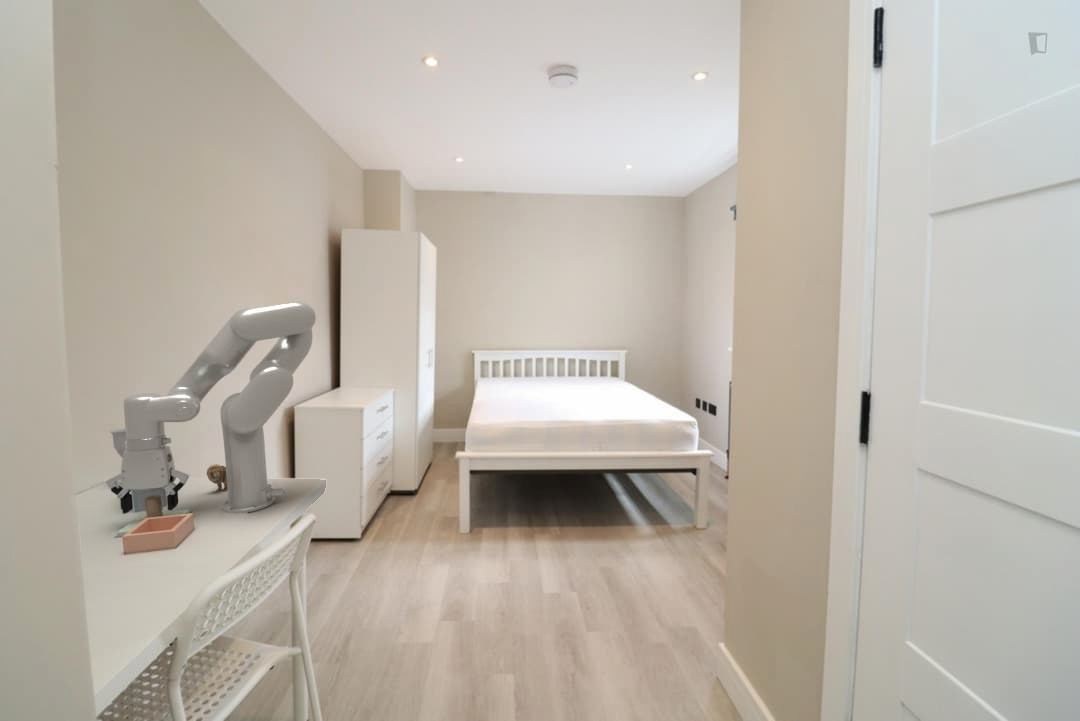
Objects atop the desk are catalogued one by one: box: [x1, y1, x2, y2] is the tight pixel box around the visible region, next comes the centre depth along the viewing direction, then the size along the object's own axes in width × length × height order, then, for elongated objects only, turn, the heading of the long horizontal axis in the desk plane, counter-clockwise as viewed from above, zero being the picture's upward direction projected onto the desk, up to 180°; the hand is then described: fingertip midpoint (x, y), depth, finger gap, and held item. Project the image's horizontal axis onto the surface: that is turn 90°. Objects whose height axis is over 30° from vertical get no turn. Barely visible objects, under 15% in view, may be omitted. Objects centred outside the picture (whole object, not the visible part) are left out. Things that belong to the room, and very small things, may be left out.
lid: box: [116, 495, 191, 538], centre depth 123 cm, size 11×11×7 cm
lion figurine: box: [206, 464, 228, 492], centre depth 149 cm, size 15×5×9 cm, turn 160°
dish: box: [121, 512, 196, 555], centre depth 114 cm, size 10×10×4 cm
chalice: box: [109, 427, 126, 459], centre depth 151 cm, size 7×7×18 cm
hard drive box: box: [125, 442, 169, 513], centre depth 138 cm, size 16×8×20 cm, turn 37°
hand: (150, 509), depth 123 cm, fingers open, 9 cm apart
